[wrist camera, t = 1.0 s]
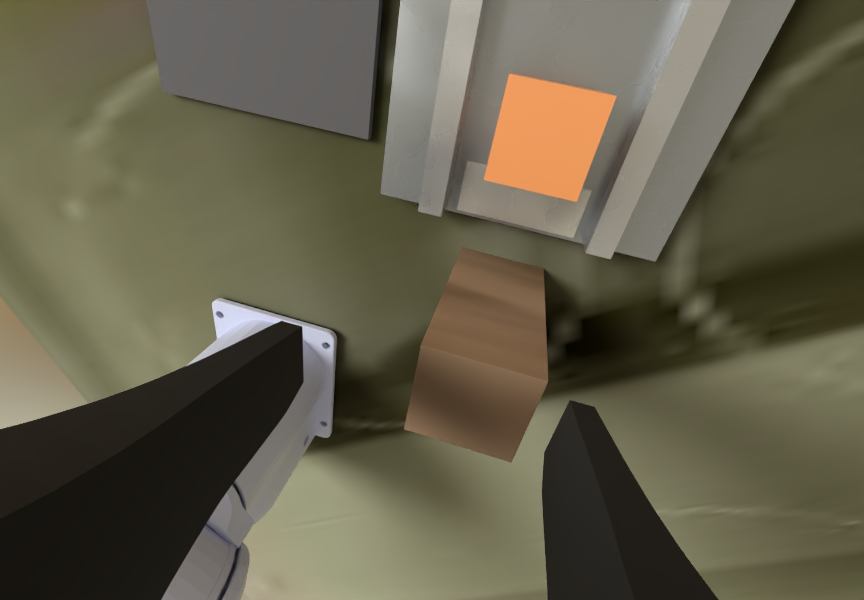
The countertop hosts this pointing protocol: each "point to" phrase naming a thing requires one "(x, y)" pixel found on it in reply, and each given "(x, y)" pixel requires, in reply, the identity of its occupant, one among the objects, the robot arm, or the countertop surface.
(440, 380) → the block
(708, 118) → the grey tray
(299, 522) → the countertop surface
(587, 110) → the orange cube
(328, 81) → the rubber mat
